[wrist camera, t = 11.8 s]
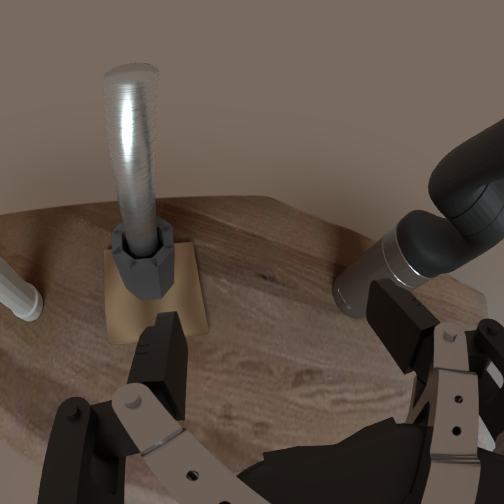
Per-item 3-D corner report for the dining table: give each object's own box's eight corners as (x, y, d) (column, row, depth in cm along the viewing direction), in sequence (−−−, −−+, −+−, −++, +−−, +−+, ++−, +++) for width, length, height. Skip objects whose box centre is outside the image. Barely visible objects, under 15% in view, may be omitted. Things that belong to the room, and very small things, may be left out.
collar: (170, 252, 35) (170, 211, 28) (176, 297, 32) (176, 265, 25) (124, 256, 33) (112, 216, 25) (126, 302, 30) (111, 271, 23)
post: (192, 246, 43) (234, 40, 16) (207, 333, 37) (302, 157, 10) (106, 254, 38) (54, 50, 12) (110, 344, 33) (-36, 188, 6)
